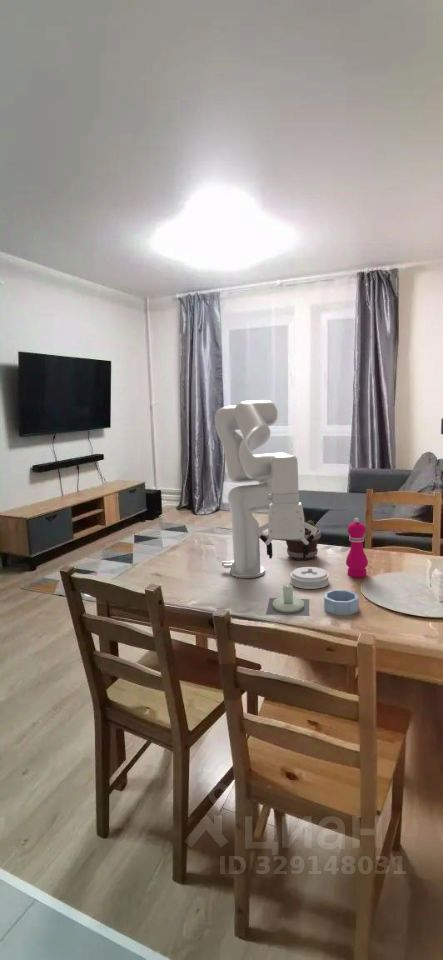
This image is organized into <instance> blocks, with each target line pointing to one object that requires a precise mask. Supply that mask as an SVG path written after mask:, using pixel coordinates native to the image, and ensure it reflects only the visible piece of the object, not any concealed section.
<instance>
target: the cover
mask: <svg viewBox="0 0 443 960" xmlns="http://www.w3.org/2000/svg"><path fill="white" fill-rule="evenodd" d="M293 587H294V586H293V585H292V584H291V583H290V584H283V585H282V596H280V597H276V598H277V599H275V600H274V601H273V608H274V609H275V610H277V611H280V612H285V613H292V612H298V611H300V610H302V609H303V608H304V601H303V600H301V599H302V598H299V597H295V596H294V588H293Z"/></svg>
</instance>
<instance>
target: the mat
mask: <svg viewBox="0 0 443 960" xmlns="http://www.w3.org/2000/svg"><path fill="white" fill-rule="evenodd" d="M277 598H278V597H270V598H269V599H268V604H267V608H266V612H265V615H273V616H274V615H275V616H277V615H278V616H303V617H305V616H306V617H309V616H310V598H300V599H301V600H303V601H304V608H303V609H302V610H300V611H298V612H292V613H285V612H280V611H277V610H275V609H274V608H273V601H274V600H275V599H277Z"/></svg>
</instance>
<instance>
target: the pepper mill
mask: <svg viewBox="0 0 443 960" xmlns="http://www.w3.org/2000/svg"><path fill="white" fill-rule="evenodd" d="M366 531H367V528H366V526H365V525H364V523H362V522H360V519H359V518H358V517H354V518H353V522H351V523H349V525H348V526H347V533H348V535H349V538H348V541H349V542H350V548H349V552H348V554H347V556H346V559H345V564H346V566H347V567H348V568H347V575H348V576H349V577H350V578H364V577H367V569H366V568H367V567H368V565H369V561H368V557H367V555H366V553H365V551H364V542H365V534H366Z"/></svg>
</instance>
